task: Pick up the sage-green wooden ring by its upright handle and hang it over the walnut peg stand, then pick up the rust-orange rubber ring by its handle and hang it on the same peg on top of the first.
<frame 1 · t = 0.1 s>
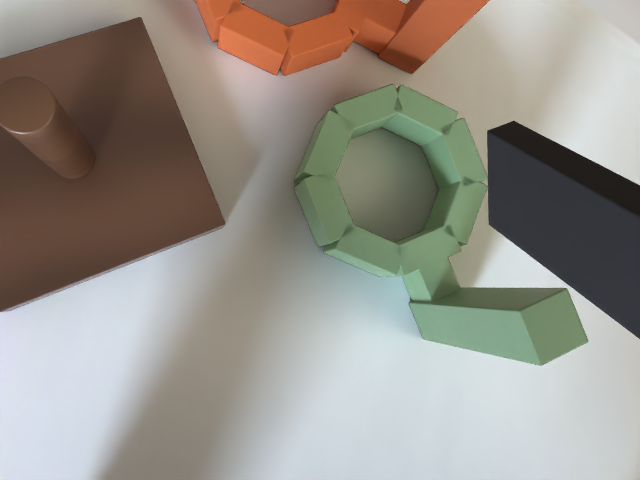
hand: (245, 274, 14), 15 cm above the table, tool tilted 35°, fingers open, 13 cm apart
sage ring: (381, 187, 31), on the table
peg stand: (78, 165, 28), on the table
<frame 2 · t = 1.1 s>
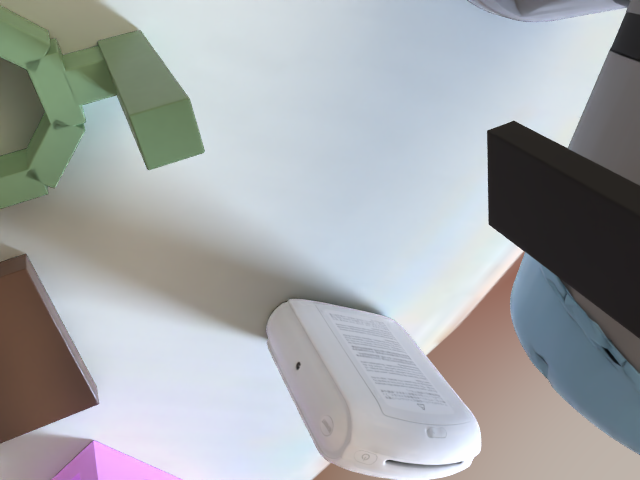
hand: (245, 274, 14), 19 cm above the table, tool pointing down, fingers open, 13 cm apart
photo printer: (330, 326, 42), on the table
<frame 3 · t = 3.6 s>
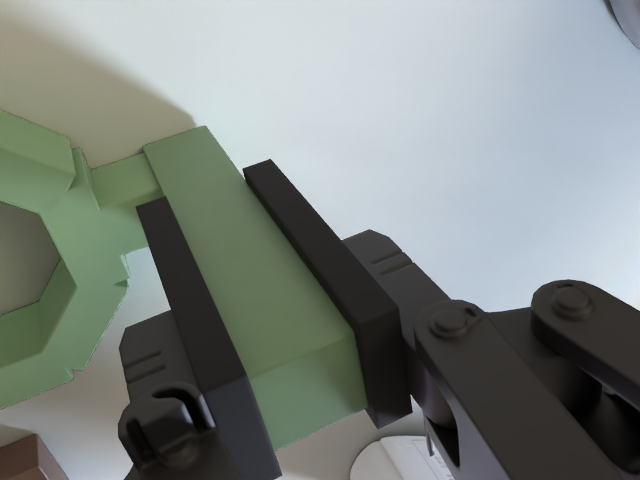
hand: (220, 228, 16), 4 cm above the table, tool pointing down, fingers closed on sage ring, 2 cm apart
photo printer: (425, 458, 33), on the table
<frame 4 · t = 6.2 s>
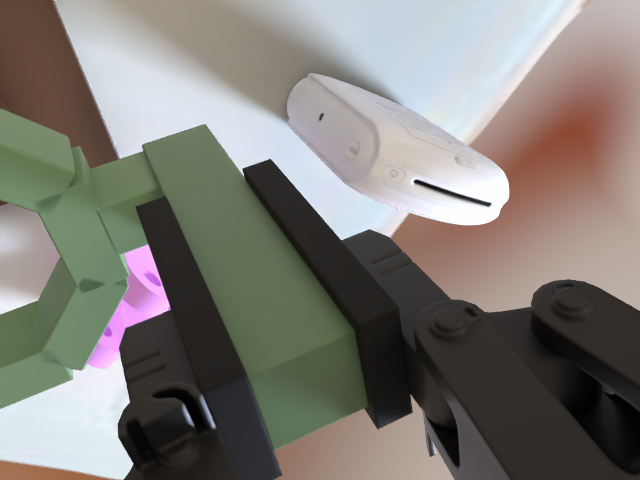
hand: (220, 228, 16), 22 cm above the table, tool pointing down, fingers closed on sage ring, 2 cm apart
bracket: (162, 298, 43), on the table
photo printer: (351, 116, 41), on the table
when the fingers open (11 cm above the table, at t = 9.1 s): sage ring drops 6 cm, resting on peg stand.
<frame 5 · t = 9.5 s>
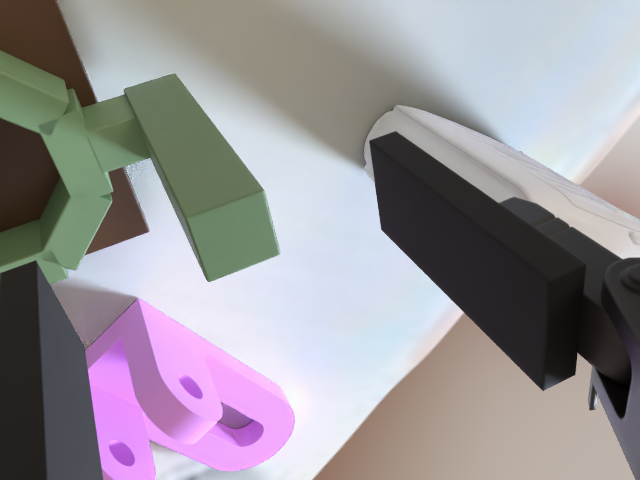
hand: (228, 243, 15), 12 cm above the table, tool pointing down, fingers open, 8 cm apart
bracket: (193, 389, 33), on the table
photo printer: (440, 158, 32), on the table
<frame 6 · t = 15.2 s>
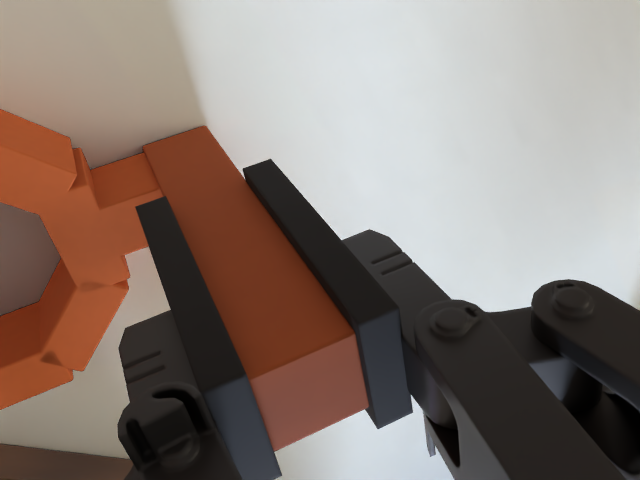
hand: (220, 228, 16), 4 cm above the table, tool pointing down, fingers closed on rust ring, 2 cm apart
when the fingers open (11 cm above the table, at t = 20.8 s): rust ring drops 3 cm, resting on sage ring.
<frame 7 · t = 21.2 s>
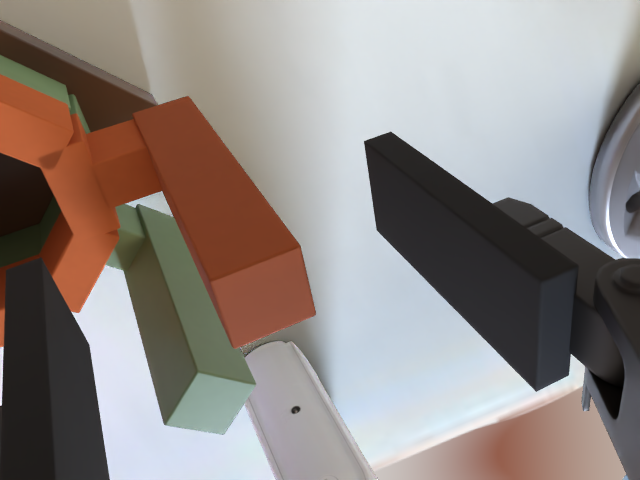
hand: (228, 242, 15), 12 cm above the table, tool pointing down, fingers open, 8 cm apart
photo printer: (286, 397, 36), on the table
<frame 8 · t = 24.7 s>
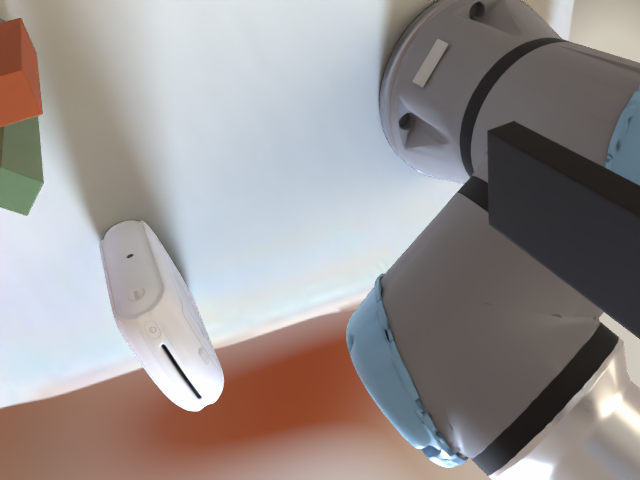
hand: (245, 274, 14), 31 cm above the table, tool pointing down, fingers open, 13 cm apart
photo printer: (147, 270, 48), on the table
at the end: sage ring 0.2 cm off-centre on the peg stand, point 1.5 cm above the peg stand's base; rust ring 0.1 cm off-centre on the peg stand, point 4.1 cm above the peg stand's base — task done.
